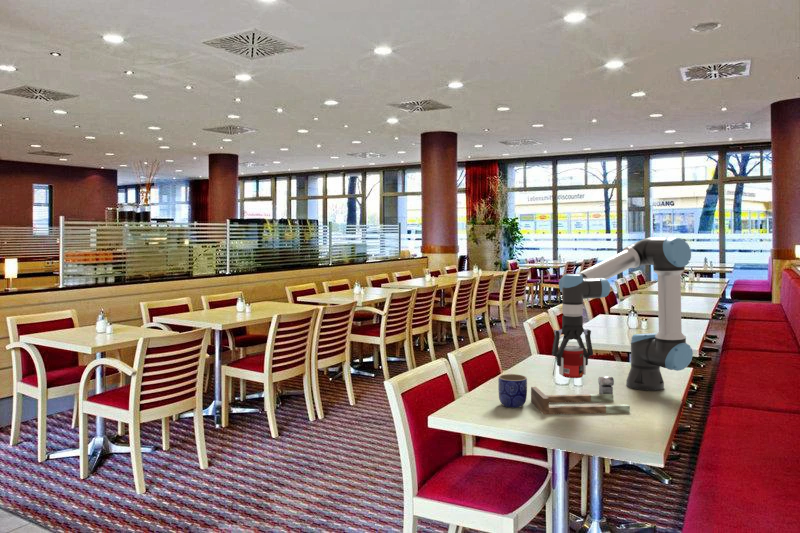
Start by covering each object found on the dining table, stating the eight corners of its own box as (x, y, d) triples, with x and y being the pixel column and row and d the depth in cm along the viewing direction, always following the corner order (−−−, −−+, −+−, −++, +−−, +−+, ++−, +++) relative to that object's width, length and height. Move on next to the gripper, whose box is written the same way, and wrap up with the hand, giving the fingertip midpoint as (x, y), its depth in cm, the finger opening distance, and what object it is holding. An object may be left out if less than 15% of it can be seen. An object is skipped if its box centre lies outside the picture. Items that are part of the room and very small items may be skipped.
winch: (609, 396, 247) (610, 375, 247) (613, 399, 243) (614, 378, 243) (597, 396, 247) (598, 375, 246) (601, 399, 243) (601, 378, 242)
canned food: (584, 378, 227) (584, 349, 227) (562, 378, 229) (562, 349, 228) (582, 374, 235) (582, 345, 234) (560, 373, 236) (560, 345, 236)
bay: (611, 399, 242) (611, 385, 242) (629, 412, 225) (629, 396, 225) (531, 401, 240) (531, 386, 240) (543, 414, 223) (543, 398, 223)
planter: (528, 403, 239) (528, 375, 238) (524, 410, 228) (525, 381, 228) (500, 400, 242) (500, 373, 241) (496, 408, 232) (496, 379, 231)
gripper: (595, 313, 235) (595, 371, 236) (542, 314, 234) (542, 372, 235) (603, 315, 227) (602, 375, 229) (548, 316, 226) (548, 377, 227)
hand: (572, 374), depth 232 cm, fingers closed on canned food, 8 cm apart
